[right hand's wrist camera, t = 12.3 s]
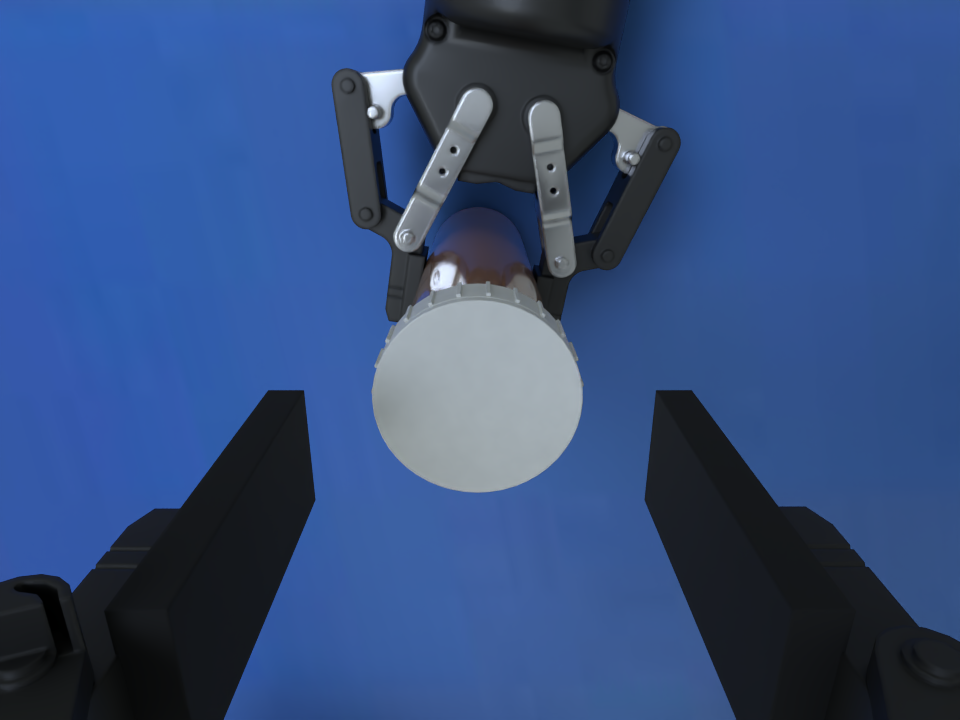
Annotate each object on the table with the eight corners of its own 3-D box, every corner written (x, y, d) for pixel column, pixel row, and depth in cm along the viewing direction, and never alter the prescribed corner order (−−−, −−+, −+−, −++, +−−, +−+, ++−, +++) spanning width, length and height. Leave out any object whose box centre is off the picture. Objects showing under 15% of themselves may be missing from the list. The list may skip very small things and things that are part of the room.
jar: (487, 187, 33) (495, 270, 16) (541, 261, 35) (603, 410, 18) (414, 244, 34) (349, 379, 17) (469, 314, 36) (461, 504, 19)
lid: (498, 237, 17) (499, 251, 16) (614, 394, 19) (627, 420, 17) (338, 358, 18) (324, 382, 17) (460, 495, 20) (459, 529, 18)
